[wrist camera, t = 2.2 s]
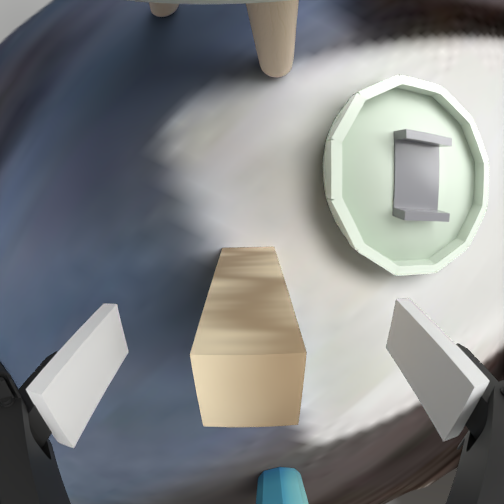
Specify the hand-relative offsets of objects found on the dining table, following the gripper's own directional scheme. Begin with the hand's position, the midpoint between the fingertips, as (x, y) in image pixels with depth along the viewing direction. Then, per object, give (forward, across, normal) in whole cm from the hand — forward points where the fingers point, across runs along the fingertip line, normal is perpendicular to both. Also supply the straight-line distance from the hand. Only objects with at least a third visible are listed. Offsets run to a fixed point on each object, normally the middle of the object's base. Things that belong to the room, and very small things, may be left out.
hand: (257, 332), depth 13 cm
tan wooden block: (+8, 0, 0) cm, 8 cm away
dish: (+8, +12, +7) cm, 16 cm away
